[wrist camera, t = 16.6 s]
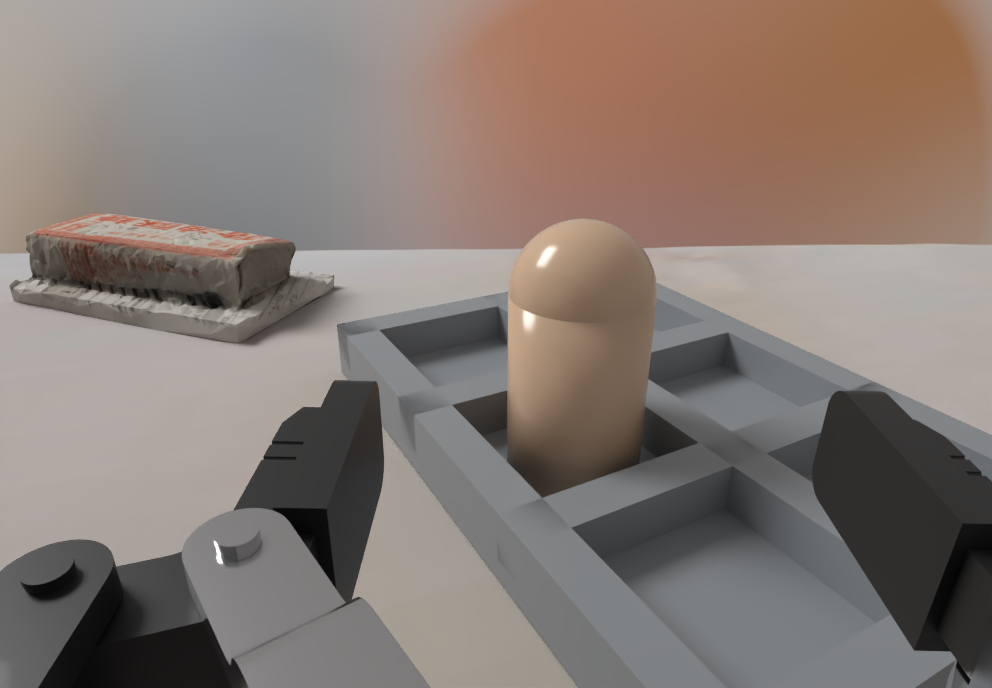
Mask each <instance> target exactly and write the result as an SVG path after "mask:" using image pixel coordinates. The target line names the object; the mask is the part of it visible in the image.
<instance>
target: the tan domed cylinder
mask: <svg viewBox="0 0 992 688" xmlns="http://www.w3.org/2000/svg"><path fill="white" fill-rule="evenodd" d="M656 302H657V283H656V277H655V273H654V269H653V267H652V264H651V262H650V260H649V258H648V256H647V254H646V253H645V251H644V250H643V248H642V247H641V246H640V245H639V244H638V242H637V241H636V240H635V239H634V238H633V237H631V236H630V235H629V234H628V233H626V232H625V231H623V230H622V229H620V228H618V227H616V226H614V225H612V224H610V223H607V222H603V221H599V220H594V219H573V220H568V221H563V222H560V223H557V224H555V225H552V226H550V227H548V228H547V229H545V230H543V231H541V232H540V233H539V234H538V235H536V236H535V237H534V238H533V239H532V240H531V241H530V242H529V243H528V244H527V245H526V246H525V247H524V249H523V250H522V251H521V253H520V254H519V256H518V258H517V260H516V262H515V264H514V266H513V269H512V272H511V276H510V281H509V289H508V385H507V462H508V463H509V464H510V465H511V466H512V467H513V468H514V469H515V470H516V471H517V472H518V473H519V475H520V476H521V477H522V478H523V479H524V480H525V481H526V482H527V483H528V484H529V485H530V486H531V487H532V488H533V489H534V490H535V491H536V492H537V493H538V494H539V495H540V496H541V497H542V498H544V497H546V496H549V495H552V494H555V493H558V492H561V491H563V490H566V489H569V488H572V487H575V486H578V485H581V484H583V483H586V482H589V481H592V480H595V479H598V478H600V477H603V476H606V475H609V474H612V473H615V472H618V471H620V470H623V469H626V468H629V467H632V466H635V465H638V464H639V461H640V452H641V443H642V433H643V424H644V415H645V405H646V396H647V387H648V377H649V368H650V359H651V349H652V340H653V330H654V321H655V312H656Z"/></svg>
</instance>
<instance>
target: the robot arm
mask: <svg viewBox="0 0 992 688" xmlns="http://www.w3.org/2000/svg"><path fill="white" fill-rule="evenodd" d="M383 472H384V451H383V437H382V423H381V409H380V395H379V387H378V384H377V382H376V381H346V380H335V381H334V382H333V383H332V385H331V387H330V389H329V391H328V393H327V395H326V397H325V399H324V401H323V404H322V406H321V407H303V408H301V409H300V410H299V411H297V412H296V413H295V414H293V415H292V416H291V417H289V418H288V419H287V420H285V421H284V422H283V423H282V424H281V426H280V428H279V430H278V431H277V433H276V435H275V437H274V439H273V440H272V445H270V446H269V448H268V449H267V451H266V453H265V455H264V460H261V462H260V464H259V465H258V467H257V469H256V471H255V473H254V474H253V476H252V478H251V480H250V482H249V483H248V485H247V487H246V489H245V491H244V492H243V494H242V496H241V498H240V500H239V501H238V503H237V505H236V507H235V509H234V510H233V511H230V512H227V513H224V514H221V515H219V516H216V517H214V518H212V519H210V520H209V521H207V522H205V523H204V524H202V525H201V526H199V527H198V528H197V529H196V530H195V531H194V532H193V533H192V534H191V535H190V536H189V538H188V539H187V540H186V542H185V544H184V546H183V550H182V552H180V553H177V554H174V555H170V556H166V557H161V558H156V559H151V560H147V561H142V562H137V563H132V564H127V565H122V566H117V567H116V565H115V562H114V558H113V555H112V553H111V551H110V550H109V549H108V547H106V546H105V545H103V544H101V543H99V542H96V541H91V540H68V541H62V542H57V543H54V544H50V545H47V546H44V547H41V548H38V549H36V550H34V551H31V552H29V553H27V554H25V555H23V556H22V557H20V558H18V559H16V560H15V561H13V562H12V563H10V564H9V565H7V566H6V567H5V568H4V569H3V570H1V571H0V688H430V686H429V685H428V683H427V682H426V681H425V679H424V678H423V677H422V675H421V674H420V673H419V671H418V670H417V668H416V667H415V666H414V664H413V663H412V662H411V660H410V659H409V657H408V656H407V655H406V653H405V652H404V651H403V649H402V648H401V647H400V645H399V644H398V642H397V641H396V640H395V638H394V637H393V636H392V634H391V633H390V632H389V630H388V629H387V627H386V626H385V625H384V623H383V622H382V621H381V619H380V618H379V616H378V615H377V614H376V612H375V611H374V610H373V608H372V607H371V606H370V605H369V603H367V602H366V601H365V600H364V599H363V598H360V597H357V598H355V599H353V600H352V596H353V592H354V589H355V585H356V581H357V578H358V574H359V570H360V566H361V563H362V559H363V555H364V552H365V548H366V544H367V540H368V537H369V533H370V529H371V526H372V522H373V518H374V515H375V511H376V507H377V503H378V500H379V496H380V492H381V488H382V482H383ZM812 482H813V488H814V492H815V495H816V497H817V499H818V501H819V503H820V504H821V506H822V508H823V509H824V511H825V512H826V514H827V515H828V517H829V519H830V520H831V522H832V523H833V525H834V526H835V528H836V529H837V531H838V533H839V534H840V536H841V537H842V539H843V540H844V542H845V544H846V545H847V547H848V548H849V550H850V551H851V553H852V555H853V556H854V558H855V559H856V561H857V562H858V564H859V565H860V567H861V569H862V570H863V572H864V573H865V575H866V576H867V578H868V580H869V581H870V583H871V584H872V586H873V587H874V589H875V590H876V592H877V594H878V595H879V597H880V598H881V600H882V601H883V603H884V605H885V606H886V608H887V609H888V611H889V612H890V614H891V616H892V617H893V619H894V620H895V622H896V623H897V625H898V626H899V628H900V630H901V631H902V633H903V634H904V636H905V637H906V639H907V641H908V642H909V644H910V645H911V647H912V648H913V650H914V651H950V652H951V653H952V654H953V656H954V657H955V658H956V660H955V663H954V665H953V667H952V670H951V672H950V675H949V677H948V681H947V686H946V688H992V481H991V480H990V479H989V478H988V477H987V476H982V474H981V471H980V470H979V469H978V468H977V467H976V466H975V465H974V464H973V463H972V462H971V461H970V460H965V455H964V454H963V453H962V452H961V451H960V450H959V449H958V448H957V447H955V446H954V445H953V444H952V443H951V442H950V441H949V440H948V439H947V438H946V437H945V436H943V435H942V434H940V433H938V432H936V431H935V430H933V429H931V428H929V427H928V426H926V425H924V424H922V423H921V422H919V421H917V420H913V419H912V418H911V417H910V416H909V415H908V414H907V413H906V412H905V411H904V410H903V409H902V408H901V407H900V406H899V405H898V404H897V403H896V402H895V401H894V400H893V399H892V398H891V397H890V396H889V395H888V394H887V393H885V392H882V391H836V392H835V393H834V394H833V395H832V396H831V398H830V400H829V403H828V407H827V411H826V415H825V418H824V422H823V426H822V430H821V434H820V438H819V442H818V446H817V450H816V454H815V458H814V462H813V468H812Z"/></svg>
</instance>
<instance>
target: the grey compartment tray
mask: <svg viewBox="0 0 992 688" xmlns="http://www.w3.org/2000/svg"><path fill="white" fill-rule="evenodd" d="M337 329H338V339H339V349H340V358H341V368H342V372H343V374H344V375H345V376H346V378H347V379H348V380H349V381H376V382H377V384H378V387H379V395H380V409H381V423H382V426H383V427H384V428H385V430H386V431H387V432H388V434H389V435H390V436H391V438H392V439H393V440H394V442H395V443H396V444H397V446H398V447H399V448H400V450H401V451H402V452H403V454H404V455H405V456H406V458H407V459H408V460H409V462H410V463H411V464H412V466H413V467H414V468H415V470H416V471H417V472H418V474H419V475H420V476H421V478H422V479H423V480H424V482H425V483H426V484H427V486H428V487H429V488H430V490H431V491H432V492H433V494H434V495H435V496H436V498H437V499H438V500H439V502H440V503H441V504H442V506H443V507H444V508H445V510H446V511H447V512H448V514H449V515H450V516H451V518H452V519H453V520H454V522H455V523H456V524H457V526H458V527H459V528H460V530H461V531H462V532H463V534H464V535H465V536H466V538H467V539H468V540H469V542H470V543H471V544H472V546H473V547H474V548H475V550H476V551H477V552H478V554H479V555H480V556H481V558H482V559H483V560H484V562H485V563H486V564H487V566H488V567H489V568H490V570H491V571H492V572H493V574H494V575H495V576H496V578H497V579H498V580H499V582H500V583H501V584H502V586H503V587H504V588H505V590H506V591H507V592H508V594H509V595H510V596H511V598H512V599H513V600H514V602H515V603H516V604H517V606H518V607H519V608H520V610H521V611H522V612H523V614H524V615H525V616H526V618H527V619H528V620H529V622H530V623H531V624H532V626H533V627H534V628H535V630H536V631H537V632H538V634H539V635H540V636H541V638H542V639H543V640H544V642H545V643H546V644H547V646H548V647H549V648H550V650H551V651H552V652H553V654H554V655H555V656H556V658H557V659H558V660H559V662H560V663H561V664H562V666H563V667H564V668H565V670H566V671H567V672H568V674H569V675H570V676H571V678H572V679H573V680H574V682H575V683H576V684H577V686H578V687H579V688H946V686H947V681H948V677H949V675H950V672H951V670H952V667H953V665H954V663H955V660H956V658H955V657H954V656H953V654H952V653H951V652H950V651H914V650H913V648H912V647H911V645H910V644H909V642H908V641H907V639H906V637H905V636H904V634H903V633H902V631H901V630H900V628H899V626H898V625H897V623H896V622H895V620H894V619H893V617H892V616H891V614H890V612H889V611H888V609H887V608H886V606H885V605H884V603H883V601H882V600H881V598H880V597H879V595H878V594H877V592H876V590H875V589H874V587H873V586H872V584H871V583H870V581H869V580H868V578H867V576H866V575H865V573H864V572H863V570H862V569H861V567H860V565H859V564H858V562H857V561H856V559H855V558H854V556H853V555H852V553H851V551H850V550H849V548H848V547H847V545H846V544H845V542H844V540H843V539H842V537H841V536H840V534H839V533H838V531H837V529H836V528H835V526H834V525H833V523H832V522H831V520H830V519H829V517H828V515H827V514H826V512H825V511H824V509H823V508H822V506H821V504H820V503H819V501H818V499H817V497H816V495H815V492H814V488H813V482H812V468H813V462H814V458H815V454H816V450H817V446H818V442H819V438H820V434H821V430H822V426H823V422H824V418H825V415H826V411H827V407H828V403H829V400H830V398H831V396H832V395H833V394H834V393H835V392H836V391H882V392H885V393H887V394H888V395H889V396H890V397H891V398H892V399H893V400H894V401H895V402H896V403H897V404H898V405H899V406H900V407H901V408H902V409H903V410H904V411H905V412H906V413H907V414H908V415H909V416H910V417H911V418H912V419H913V420H917V421H919V422H921V423H922V424H924V425H926V426H928V427H929V428H931V429H933V430H935V431H936V432H938V433H940V434H942V435H943V436H945V437H946V438H947V439H948V440H949V441H950V442H951V443H952V444H953V445H954V446H955V447H957V448H958V449H959V450H960V451H961V452H962V453H963V454H964V455H965V460H970V461H971V462H972V463H973V464H974V465H975V466H976V467H977V468H978V469H979V470H980V471H981V474H982V476H987V477H988V478H989V479H990V480H991V481H992V435H990V434H988V433H986V432H983V431H981V430H979V429H977V428H975V427H972V426H970V425H968V424H966V423H964V422H961V421H959V420H957V419H955V418H953V417H950V416H948V415H946V414H944V413H942V412H939V411H937V410H935V409H933V408H931V407H928V406H926V405H924V404H922V403H920V402H917V401H915V400H913V399H911V398H909V397H906V396H904V395H902V394H900V393H898V392H895V391H893V390H891V389H889V388H887V387H884V386H882V385H880V384H878V383H876V382H873V381H871V380H869V379H867V378H865V377H862V376H860V375H858V374H856V373H854V372H851V371H849V370H847V369H845V368H843V367H840V366H838V365H836V364H834V363H832V362H829V361H827V360H825V359H823V358H821V357H818V356H816V355H814V354H812V353H810V352H807V351H805V350H803V349H801V348H799V347H796V346H794V345H792V344H790V343H788V342H785V341H783V340H781V339H779V338H777V337H774V336H772V335H770V334H768V333H766V332H764V331H761V330H759V329H757V328H755V327H753V326H750V325H748V324H746V323H744V322H742V321H739V320H737V319H735V318H733V317H731V316H728V315H726V314H724V313H722V312H720V311H717V310H715V309H713V308H711V307H709V306H706V305H704V304H702V303H700V302H698V301H695V300H693V299H691V298H689V297H687V296H684V295H682V294H680V293H678V292H676V291H673V290H671V289H669V288H667V287H665V286H662V285H660V284H658V283H657V302H656V312H655V321H654V330H653V340H652V349H651V359H650V368H649V377H648V387H647V396H646V405H645V415H644V424H643V433H642V443H641V452H640V461H639V464H638V465H635V466H632V467H629V468H626V469H623V470H620V471H618V472H615V473H612V474H609V475H606V476H603V477H600V478H598V479H595V480H592V481H589V482H586V483H583V484H581V485H578V486H575V487H572V488H569V489H566V490H563V491H561V492H558V493H555V494H552V495H549V496H546V497H544V498H542V497H541V496H540V495H539V494H538V493H537V492H536V491H535V490H534V489H533V488H532V487H531V486H530V485H529V484H528V483H527V482H526V481H525V480H524V479H523V478H522V477H521V476H520V475H519V473H518V472H517V471H516V470H515V469H514V468H513V467H512V466H511V465H510V464H509V463H508V462H507V385H508V292H505V293H499V294H494V295H489V296H484V297H478V298H473V299H468V300H463V301H457V302H452V303H447V304H442V305H437V306H431V307H426V308H421V309H416V310H410V311H405V312H400V313H395V314H390V315H384V316H379V317H374V318H369V319H363V320H358V321H353V322H348V323H342V324H337Z"/></svg>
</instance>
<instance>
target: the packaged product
mask: <svg viewBox="0 0 992 688" xmlns="http://www.w3.org/2000/svg"><path fill="white" fill-rule="evenodd" d="M26 242H27V247H26V250H27V251H28V252H29V253H30V267H31V271H32V274H33V275H32V277H31V278H30V279H29V280H25V281H17V280H15V281H14V282H13V283H12V284H11V285H10V289H11V293H12V296H13V300H14V301H15V302H20V303H26V304H31V305H37V306H42V307H48V308H53V309H57V310H61V311H66V312H70V313H75V314H79V315H84V316H90V317H95V318H100V319H105V320H109V321H114V322H119V323H124V324H129V325H134V326H139V327H145V328H150V329H155V330H161V331H166V332H172V333H178V334H184V335H190V336H196V337H202V338H208V339H213V340H219V341H225V342H233V343H239V342H241V341H244V340H245V339H247V338H249V337H251V336H252V335H254V334H256V333H258V332H259V331H261V330H263V329H265V328H266V327H268V326H270V325H272V324H273V323H275V322H277V321H278V320H280V319H282V318H284V317H285V316H287V315H289V314H291V313H293V312H294V311H296V310H297V309H299V308H301V307H302V306H304V305H305V304H307V303H309V302H310V301H312V300H314V299H315V298H317V297H319V296H321V295H324V294H325V293H326V292H328V291H329V290H331V289H332V288H333V287H334V275H326V274H321V275H314V274H313V273H311V272H305V271H290V265H291V260H292V258H293V256H294V253H295V250H296V249H295V245H294V243H292V242H290V241H286V240H283V239H277V238H272V237H266V236H259V235H255V234H250V233H240V232H234V231H225V230H219V229H210V228H208V227H201V226H191V225H186V224H180V223H172V222H166V221H160V220H151V219H145V218H137V217H132V216H124V215H115V214H97V213H95V214H88V215H87V216H83V217H78V218H75V219H73V220H68V221H65V222H60V223H57V224H54V225H51V226H48V227H45V228H41V229H38V230H36V231H34V232H31V233H30V234H29V235H27V236H26Z"/></svg>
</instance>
